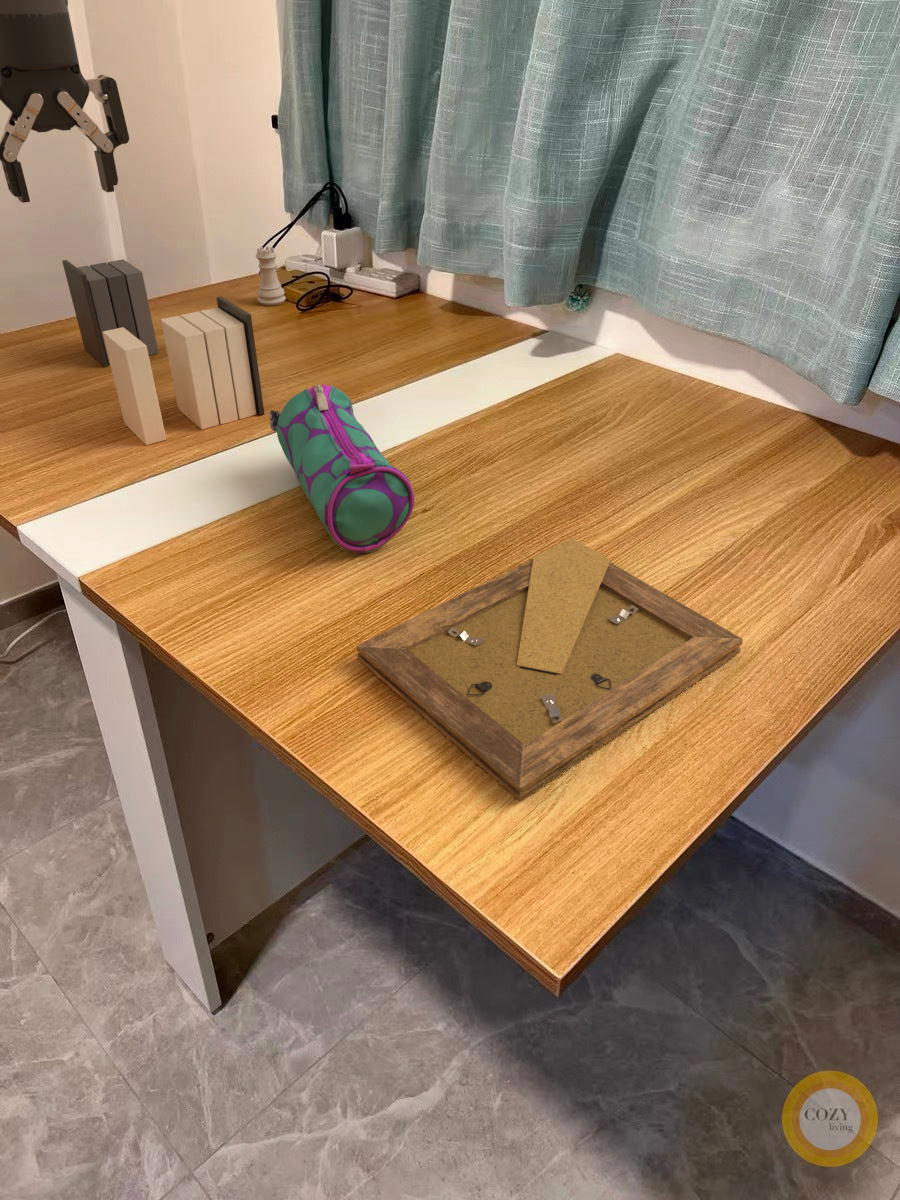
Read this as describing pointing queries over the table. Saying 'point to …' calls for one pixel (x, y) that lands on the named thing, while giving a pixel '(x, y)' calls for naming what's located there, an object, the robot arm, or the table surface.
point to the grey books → (110, 304)
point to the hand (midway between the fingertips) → (66, 195)
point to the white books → (214, 364)
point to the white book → (134, 385)
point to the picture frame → (546, 662)
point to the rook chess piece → (269, 279)
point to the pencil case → (342, 470)
